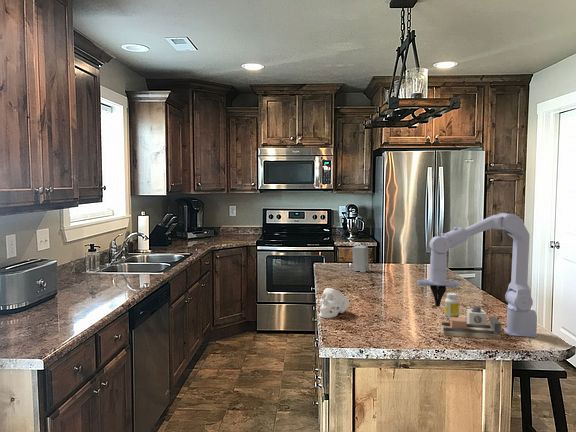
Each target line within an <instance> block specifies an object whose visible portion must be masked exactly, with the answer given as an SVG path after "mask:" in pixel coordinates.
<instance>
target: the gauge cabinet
mask: <svg viewBox="0 0 576 432" xmlns="http://www.w3.org/2000/svg"><path fill="white" fill-rule="evenodd" d="M466 321H467V324H482V325H487V313H486V311H485V309H481V313H477V312H473V308H467V309H466Z"/></svg>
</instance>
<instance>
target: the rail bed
mask: <svg viewBox="0 0 576 432" xmlns="http://www.w3.org/2000/svg"><path fill="white" fill-rule="evenodd" d="M440 327H441V332H442V334H443V336H446V337H461V338H462V337H464V338H477V339H478V338H479V339H490V340H501V339H502V337H501V336H502V323H501V322H500V321H499V319H498V318H497V317H496V316H489V324H486V325H482V324H467V329H462V328H451V326H450V321H449V322H445V321H441V324H440Z"/></svg>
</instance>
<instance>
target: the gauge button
mask: <svg viewBox="0 0 576 432" xmlns="http://www.w3.org/2000/svg"><path fill="white" fill-rule="evenodd" d="M472 309H473V312H477V313H481V310H482V308H481V307H480V306H472Z"/></svg>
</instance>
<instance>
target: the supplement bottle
mask: <svg viewBox="0 0 576 432" xmlns="http://www.w3.org/2000/svg"><path fill="white" fill-rule="evenodd" d="M459 312H460V301H459V300H458V294H457V293H455V292H454V293H453V292H447V293H446V298H445V300H444V318H446V319H447V320H450V317H458V318H460V317H459V314H460V313H459Z"/></svg>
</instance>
